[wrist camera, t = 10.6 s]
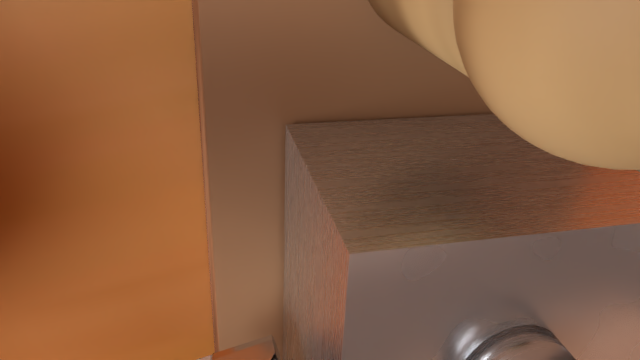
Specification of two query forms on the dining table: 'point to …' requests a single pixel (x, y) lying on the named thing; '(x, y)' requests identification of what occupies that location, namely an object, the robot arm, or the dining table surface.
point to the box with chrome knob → (454, 246)
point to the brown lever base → (388, 103)
